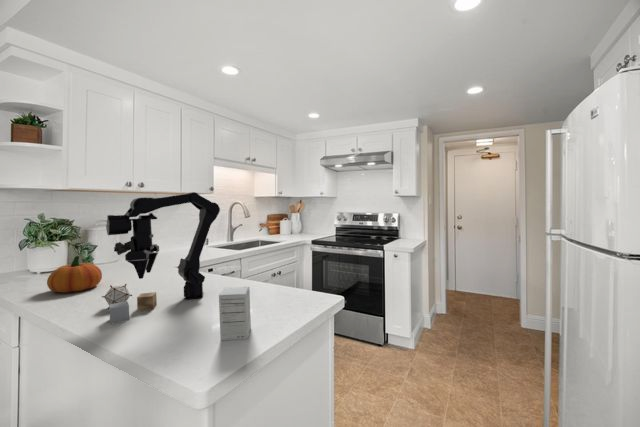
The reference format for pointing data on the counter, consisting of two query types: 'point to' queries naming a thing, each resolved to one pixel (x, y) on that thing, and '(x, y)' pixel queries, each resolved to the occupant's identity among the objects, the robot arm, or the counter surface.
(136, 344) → the counter surface
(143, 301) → the brown metallic block
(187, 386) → the counter surface
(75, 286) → the pumpkin
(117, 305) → the grey block
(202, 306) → the counter surface
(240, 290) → the supplement box
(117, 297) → the game die
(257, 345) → the counter surface
